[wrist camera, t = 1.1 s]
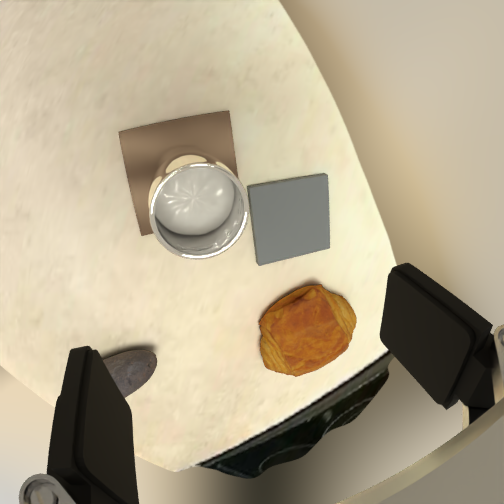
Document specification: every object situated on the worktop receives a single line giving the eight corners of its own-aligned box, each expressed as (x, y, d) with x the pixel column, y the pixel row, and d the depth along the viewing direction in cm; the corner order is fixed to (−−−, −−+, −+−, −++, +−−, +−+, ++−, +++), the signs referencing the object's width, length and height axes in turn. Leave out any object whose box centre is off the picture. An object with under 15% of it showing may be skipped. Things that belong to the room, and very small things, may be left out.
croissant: (341, 324, 54) (370, 349, 47) (265, 372, 50) (289, 404, 43) (329, 258, 46) (365, 281, 40) (237, 311, 43) (263, 345, 36)
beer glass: (163, 133, 31) (166, 145, 18) (223, 153, 34) (268, 180, 21) (142, 194, 33) (133, 248, 20) (201, 211, 36) (230, 272, 23)
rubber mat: (247, 186, 36) (249, 188, 36) (324, 173, 38) (327, 174, 38) (256, 262, 41) (258, 265, 40) (326, 245, 43) (329, 248, 42)
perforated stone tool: (146, 332, 41) (148, 367, 35) (165, 357, 43) (169, 392, 37) (66, 367, 39) (59, 401, 33) (86, 388, 42) (83, 422, 36)
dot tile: (119, 131, 30) (118, 132, 29) (228, 110, 32) (229, 110, 32) (141, 234, 35) (141, 236, 35) (241, 212, 38) (242, 213, 37)
